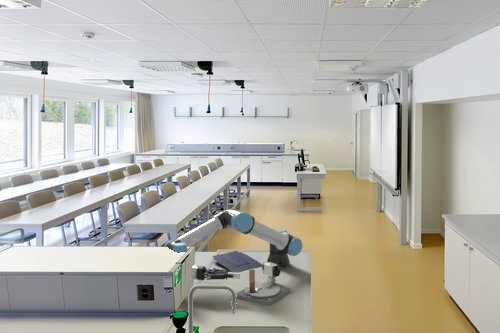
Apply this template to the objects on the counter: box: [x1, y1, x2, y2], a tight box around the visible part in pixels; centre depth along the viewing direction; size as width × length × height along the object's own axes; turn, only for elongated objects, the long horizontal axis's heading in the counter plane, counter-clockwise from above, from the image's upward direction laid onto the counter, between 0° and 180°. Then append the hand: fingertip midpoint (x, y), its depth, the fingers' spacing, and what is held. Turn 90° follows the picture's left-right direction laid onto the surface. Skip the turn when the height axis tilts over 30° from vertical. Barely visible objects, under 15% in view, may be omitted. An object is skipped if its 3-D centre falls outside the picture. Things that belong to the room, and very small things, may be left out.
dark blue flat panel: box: [211, 250, 263, 273], centre depth 294 cm, size 24×30×4 cm
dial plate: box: [235, 281, 291, 306], centre depth 239 cm, size 22×22×2 cm
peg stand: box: [244, 268, 281, 298], centre depth 238 cm, size 19×19×14 cm
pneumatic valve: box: [261, 261, 281, 284], centre depth 257 cm, size 6×12×12 cm, turn 37°
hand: (239, 275), depth 233 cm, fingers closed
